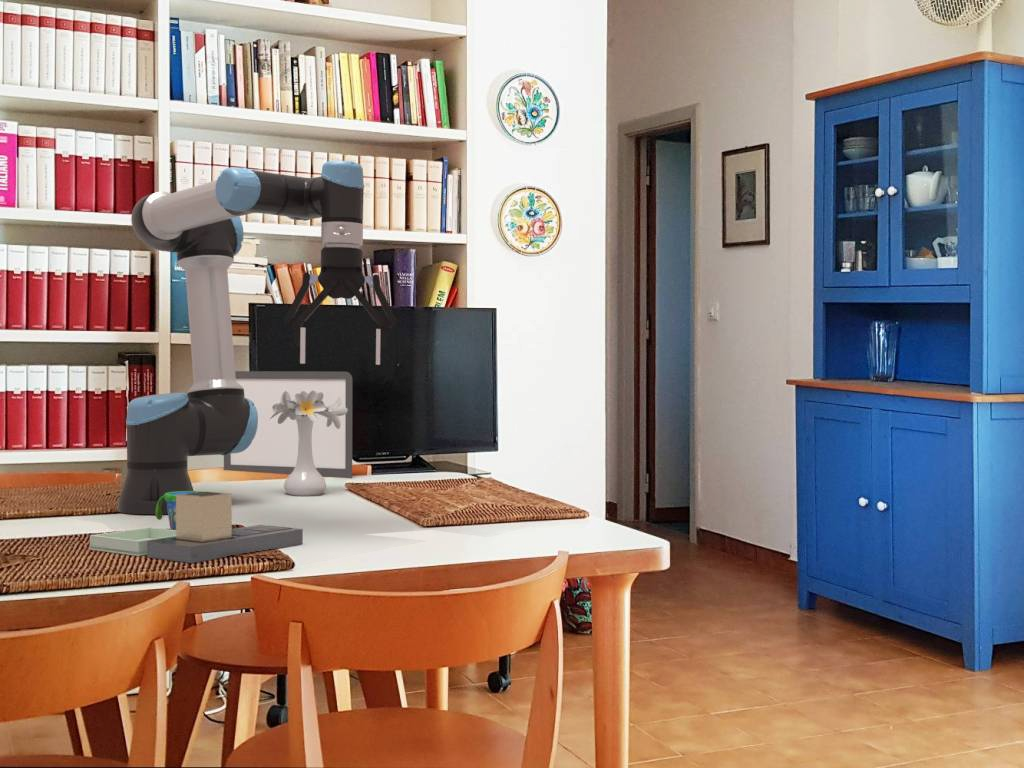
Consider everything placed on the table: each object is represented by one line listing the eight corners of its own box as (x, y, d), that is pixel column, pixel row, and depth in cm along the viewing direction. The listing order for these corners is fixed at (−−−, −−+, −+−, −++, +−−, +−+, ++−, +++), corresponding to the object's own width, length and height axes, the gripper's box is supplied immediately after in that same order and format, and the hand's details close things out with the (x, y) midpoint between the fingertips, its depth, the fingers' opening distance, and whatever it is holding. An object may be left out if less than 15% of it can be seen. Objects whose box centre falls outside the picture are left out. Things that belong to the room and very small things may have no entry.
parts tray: (89, 549, 190) (89, 535, 190) (149, 540, 200) (149, 527, 200) (138, 556, 183) (138, 541, 183) (198, 546, 193) (198, 532, 193)
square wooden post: (176, 551, 185) (176, 493, 185) (205, 547, 190) (205, 490, 190) (202, 555, 181) (202, 496, 181) (231, 550, 186) (231, 492, 186)
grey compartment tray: (147, 557, 182) (147, 540, 182) (259, 539, 202) (260, 524, 202) (190, 563, 177) (190, 546, 177) (302, 544, 197) (302, 528, 197)
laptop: (154, 493, 281) (154, 370, 281) (226, 482, 308) (226, 371, 308) (292, 499, 267) (292, 371, 267) (354, 487, 295) (354, 371, 295)
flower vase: (354, 498, 268) (354, 389, 268) (299, 506, 253) (299, 390, 252) (311, 495, 275) (312, 388, 275) (255, 502, 260) (255, 389, 259)
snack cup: (227, 533, 210) (227, 491, 210) (203, 539, 203) (203, 496, 203) (171, 530, 214) (171, 489, 213) (146, 536, 206) (146, 493, 206)
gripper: (270, 243, 208) (269, 363, 209) (411, 247, 211) (409, 365, 212) (273, 247, 216) (272, 362, 216) (409, 251, 219) (408, 364, 219)
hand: (340, 364), depth 214 cm, fingers open, 13 cm apart
